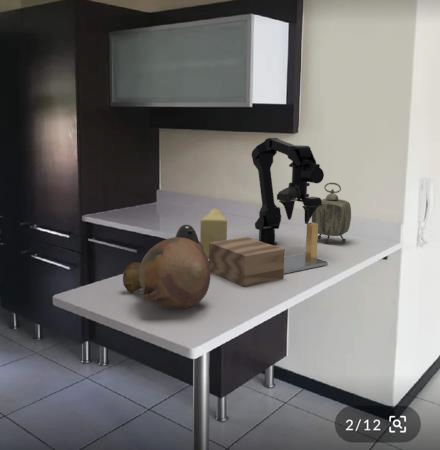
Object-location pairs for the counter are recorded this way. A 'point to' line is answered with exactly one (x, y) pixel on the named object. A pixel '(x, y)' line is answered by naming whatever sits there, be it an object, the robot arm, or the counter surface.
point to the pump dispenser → (187, 233)
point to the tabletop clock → (332, 215)
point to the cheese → (212, 229)
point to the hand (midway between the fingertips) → (297, 221)
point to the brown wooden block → (246, 261)
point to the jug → (171, 273)
